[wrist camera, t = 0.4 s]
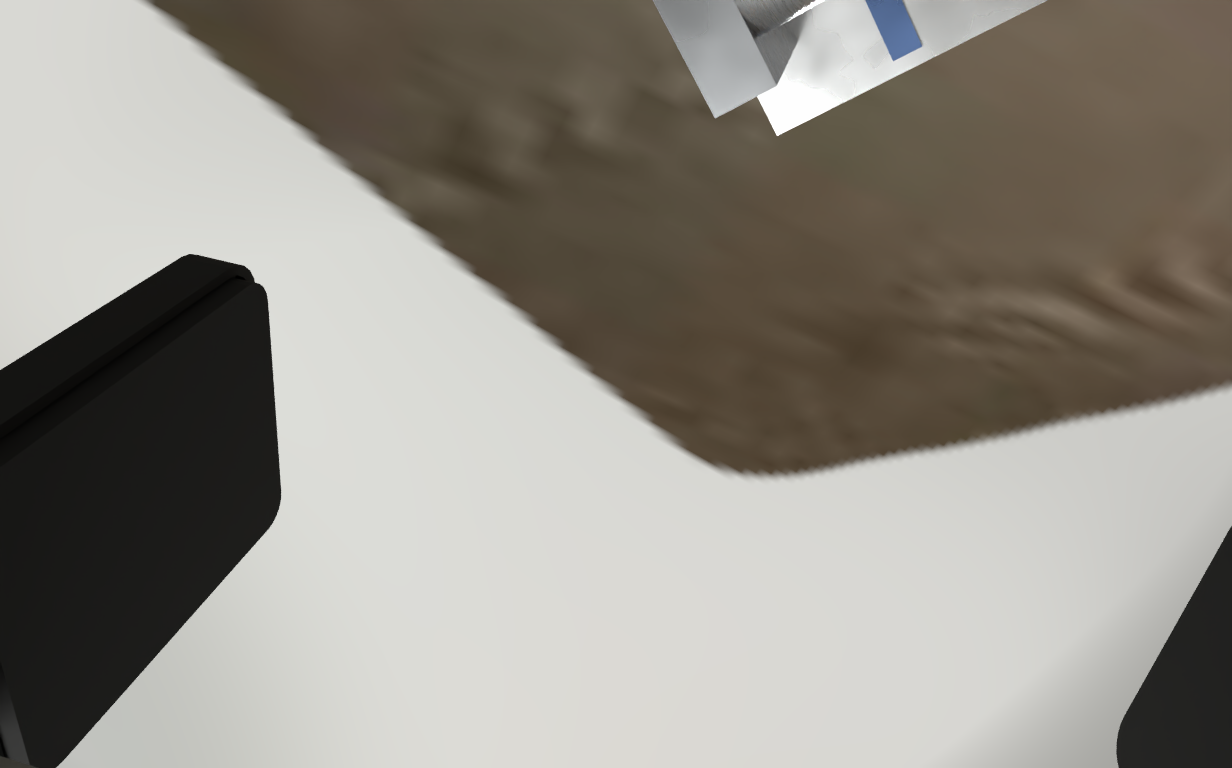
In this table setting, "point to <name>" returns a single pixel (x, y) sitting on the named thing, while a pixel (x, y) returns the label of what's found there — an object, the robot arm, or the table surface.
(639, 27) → the table surface
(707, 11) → the pipe stand
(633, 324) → the table surface
